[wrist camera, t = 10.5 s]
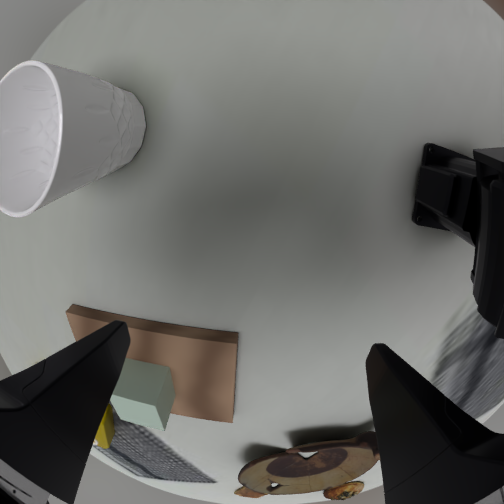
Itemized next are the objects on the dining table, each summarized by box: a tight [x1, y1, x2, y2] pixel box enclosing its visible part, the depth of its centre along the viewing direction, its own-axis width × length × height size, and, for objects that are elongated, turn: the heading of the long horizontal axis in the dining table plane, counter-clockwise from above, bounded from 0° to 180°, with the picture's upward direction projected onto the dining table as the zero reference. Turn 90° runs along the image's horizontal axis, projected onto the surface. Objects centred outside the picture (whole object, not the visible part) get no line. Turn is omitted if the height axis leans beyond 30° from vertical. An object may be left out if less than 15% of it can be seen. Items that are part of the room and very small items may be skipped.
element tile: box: [93, 403, 115, 449], centre depth 32 cm, size 15×15×5 cm
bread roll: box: [323, 481, 364, 500], centre depth 44 cm, size 11×11×5 cm
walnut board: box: [66, 304, 238, 423], centre depth 26 cm, size 18×14×2 cm
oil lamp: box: [238, 431, 380, 495], centre depth 31 cm, size 22×30×8 cm
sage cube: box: [110, 358, 176, 431], centre depth 23 cm, size 5×5×5 cm
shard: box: [234, 486, 268, 498], centre depth 45 cm, size 11×8×2 cm
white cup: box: [0, 60, 146, 217], centre depth 12 cm, size 8×8×10 cm
